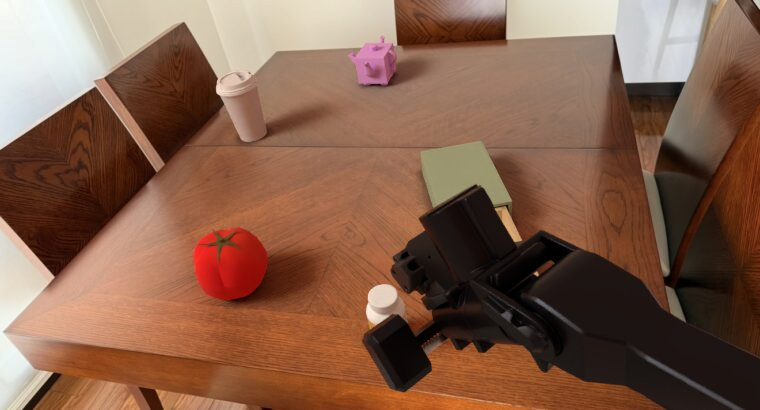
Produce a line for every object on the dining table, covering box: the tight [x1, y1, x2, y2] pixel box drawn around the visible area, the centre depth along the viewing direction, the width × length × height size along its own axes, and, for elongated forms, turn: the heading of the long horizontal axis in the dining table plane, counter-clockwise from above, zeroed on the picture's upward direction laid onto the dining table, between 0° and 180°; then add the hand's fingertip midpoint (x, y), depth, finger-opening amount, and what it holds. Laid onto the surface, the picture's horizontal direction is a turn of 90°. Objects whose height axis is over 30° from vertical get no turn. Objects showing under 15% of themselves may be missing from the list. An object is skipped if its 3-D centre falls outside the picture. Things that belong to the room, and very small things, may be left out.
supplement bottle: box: [365, 283, 409, 330], centre depth 69 cm, size 5×5×10 cm
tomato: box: [192, 226, 269, 301], centre depth 80 cm, size 12×12×11 cm
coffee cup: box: [215, 69, 268, 143], centre depth 118 cm, size 10×10×15 cm
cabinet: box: [419, 140, 513, 219], centre depth 92 cm, size 19×12×5 cm, turn 6°
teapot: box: [347, 35, 398, 87], centre depth 133 cm, size 18×13×10 cm
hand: (419, 311), depth 58 cm, fingers open, 9 cm apart
